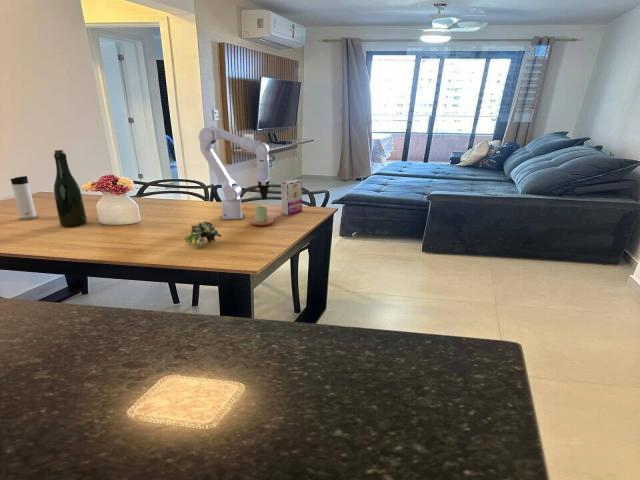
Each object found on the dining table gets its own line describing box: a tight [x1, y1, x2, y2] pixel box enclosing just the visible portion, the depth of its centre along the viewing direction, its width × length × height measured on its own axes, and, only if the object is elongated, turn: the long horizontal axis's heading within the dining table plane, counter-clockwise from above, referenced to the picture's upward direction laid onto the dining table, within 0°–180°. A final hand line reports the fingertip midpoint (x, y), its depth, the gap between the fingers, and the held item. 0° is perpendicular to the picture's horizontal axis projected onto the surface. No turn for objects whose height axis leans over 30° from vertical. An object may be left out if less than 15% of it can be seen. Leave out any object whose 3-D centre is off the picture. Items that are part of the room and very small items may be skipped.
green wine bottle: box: [53, 149, 88, 228], centre depth 167 cm, size 10×10×33 cm
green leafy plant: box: [184, 220, 222, 249], centre depth 148 cm, size 11×11×12 cm
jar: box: [254, 205, 268, 222], centre depth 177 cm, size 5×5×6 cm
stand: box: [248, 216, 274, 227], centre depth 178 cm, size 11×11×2 cm
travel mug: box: [10, 175, 38, 221], centre depth 177 cm, size 6×7×20 cm
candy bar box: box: [280, 179, 303, 216], centre depth 196 cm, size 11×5×16 cm, turn 143°
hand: (264, 197), depth 184 cm, fingers open, 7 cm apart
